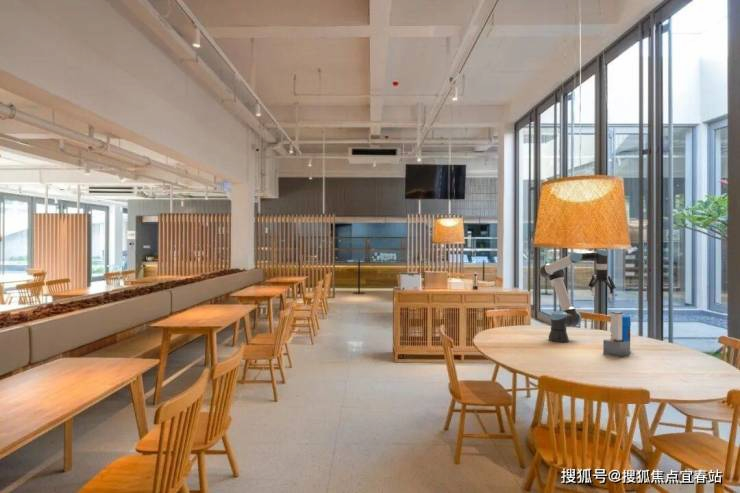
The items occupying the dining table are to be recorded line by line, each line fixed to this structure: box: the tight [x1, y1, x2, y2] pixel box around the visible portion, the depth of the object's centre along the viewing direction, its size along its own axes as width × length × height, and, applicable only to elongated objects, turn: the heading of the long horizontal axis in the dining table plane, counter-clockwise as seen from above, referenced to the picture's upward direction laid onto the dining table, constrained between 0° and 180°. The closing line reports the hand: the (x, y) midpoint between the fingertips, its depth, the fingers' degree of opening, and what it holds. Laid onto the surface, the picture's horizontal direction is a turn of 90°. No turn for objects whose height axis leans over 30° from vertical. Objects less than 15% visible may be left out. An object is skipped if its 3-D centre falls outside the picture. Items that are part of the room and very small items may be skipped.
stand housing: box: [602, 337, 631, 358], centre depth 298 cm, size 12×12×11 cm
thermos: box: [622, 314, 631, 342], centre depth 313 cm, size 11×11×25 cm
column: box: [610, 310, 624, 342], centre depth 298 cm, size 5×6×22 cm
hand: (601, 296), depth 319 cm, fingers open, 13 cm apart
